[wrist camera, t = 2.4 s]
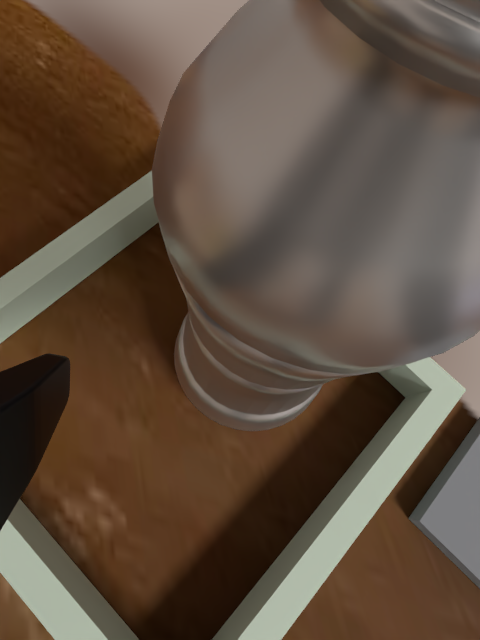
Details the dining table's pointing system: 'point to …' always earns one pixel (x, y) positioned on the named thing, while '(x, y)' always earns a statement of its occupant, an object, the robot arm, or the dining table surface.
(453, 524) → the rubber mat
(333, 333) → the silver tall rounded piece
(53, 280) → the empty rectangular frame
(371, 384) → the dining table surface
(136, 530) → the dining table surface
